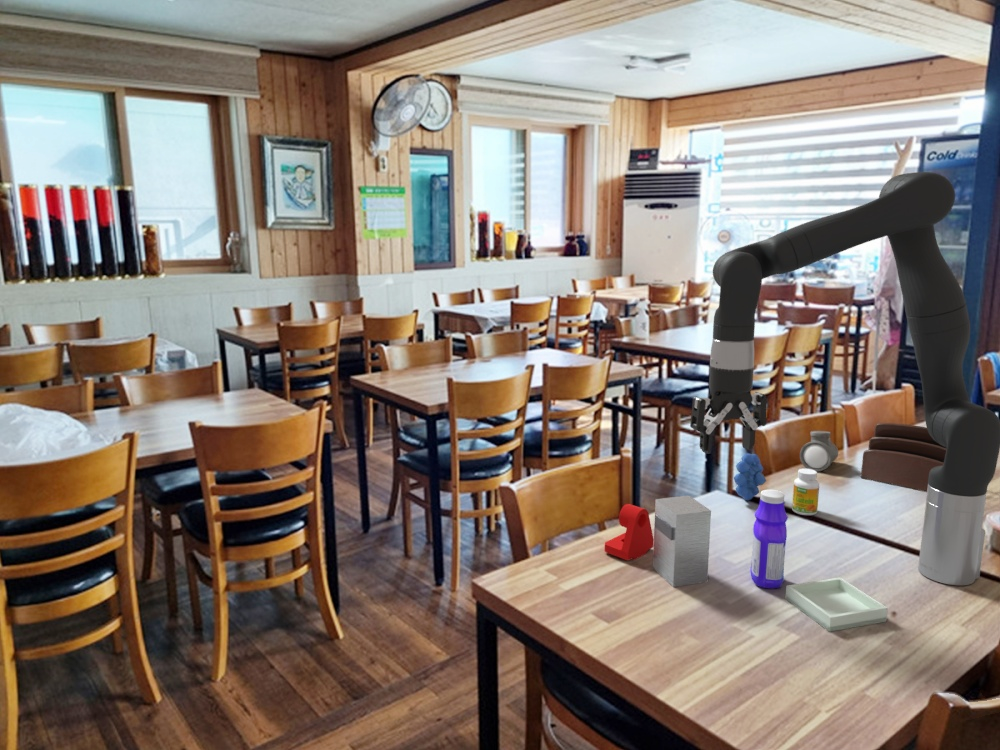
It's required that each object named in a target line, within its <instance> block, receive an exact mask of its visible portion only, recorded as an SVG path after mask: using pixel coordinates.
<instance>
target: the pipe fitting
mask: <svg viewBox="0 0 1000 750" xmlns="http://www.w3.org/2000/svg"><path fill="white" fill-rule="evenodd" d="M830 437H831V432H830V431H828V430H827V431H826V430H811V431H810V441H809V442H807V443H805V444H804V445H802V447H801V449H800V452H799V460H800V462H801V464H802V465H803V467H804V468H805V469H812V470H815V471H816V472H817V473H818V472H822V471H824V470H827V469H828V468H829V467H830V466H831V465H832V463H833V462H834V461H836V460H837V458H838V456H839V450H838V447H837V446H836V445H835V443H833V442H832V439H831V438H830Z"/></svg>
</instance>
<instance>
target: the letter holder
mask: <svg viewBox="0 0 1000 750" xmlns="http://www.w3.org/2000/svg"><path fill="white" fill-rule="evenodd" d="M946 449H947V448H946V447H944V446H942V445H940V444H939V443H937V442H936V441H935V440H934V439H933V438H932V437H931V436H930V434H929V432H928V430H927V426H926V427H925V426H920V425H914V424H913V425H912V424H905V423H894V422H892V423H891V422H878V423H876V424H875V426H874V436H872V437H871V438H870V439H869V441H868V449H866V450H864V451H863V453H862V459H861V460H862V461H861V463H862V464H861V470H860V471H861V472H860V478H861V479H864V480H869V481H872V480H873V482H877V483H882V484H883V483H884V484H887V485H892V486H897V487H902V488H908V489H911V490H917V491H922V492H926V493H927V488H928V479H929V473H930V470H931V469H932V468H934V467H937V466H943V464H944V460H945V454H946Z"/></svg>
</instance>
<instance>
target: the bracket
mask: <svg viewBox="0 0 1000 750" xmlns="http://www.w3.org/2000/svg"><path fill="white" fill-rule="evenodd" d="M650 520H651V519H650V514H649V511H648V510H647V509H646V508H644V507H640V506H636V505H633V504H630V503H626V504H624V505H623V506H622V507H621V509H620V512H619V515H618V522H619V525H620V526H621V527H623V528H626V531H625V532H623V533H621V534H620V535H617V536H615V537H613V538H611V539H608V540H607V541H605V542H604V552H605V553H607V554H609V555H612V556H614V557H617V558H620V559H623V560H625V561H628V562H629V561H630V560H634V561H635V560H637V559H639V558H640V557H643V556H644V555H646V554H648V551H649V550H651V549H652V548H653V549H654V533H653V529H652V526H651V525H652V524H651V521H650Z"/></svg>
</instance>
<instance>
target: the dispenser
mask: <svg viewBox="0 0 1000 750" xmlns="http://www.w3.org/2000/svg"><path fill="white" fill-rule="evenodd" d="M654 500H655V502H654V503H655V505H654V507H655V508H654V529H653V532H654V533H653V539H654V543H653V555H652V558H653V559H652V568H653V569H654V571H656V572H657V573H658V574H659V575H660V576H661V577H662V578H663V579H664V580H665V581H666V582H668V584H669V585H670V586H672V587H673V588H675V587H682V586H688V585H695V584H702V583H708V579H709V578H708V575H709V574H708V573H709V556H710V539H711V537H710V536H711V520H712V510H711V509H709V508H708V507H707V506H705V505H704V504H702V503H700V502H699V501H698V500H696V499H694V498H693V497H692V496H690V495H689V494H688V495H680V496H672V497H663V498H655V499H654Z"/></svg>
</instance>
